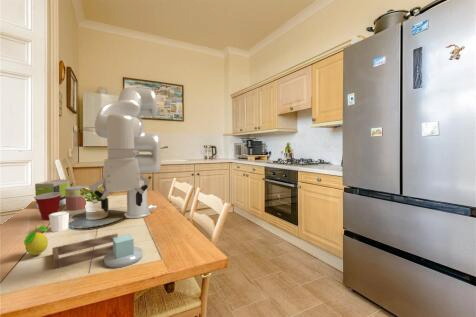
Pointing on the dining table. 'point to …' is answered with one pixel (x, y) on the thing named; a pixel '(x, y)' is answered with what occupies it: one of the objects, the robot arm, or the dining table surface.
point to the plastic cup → (48, 203)
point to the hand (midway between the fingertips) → (122, 208)
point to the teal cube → (123, 246)
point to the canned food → (74, 198)
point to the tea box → (53, 188)
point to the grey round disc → (122, 259)
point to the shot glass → (59, 221)
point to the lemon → (36, 241)
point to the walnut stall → (84, 255)
